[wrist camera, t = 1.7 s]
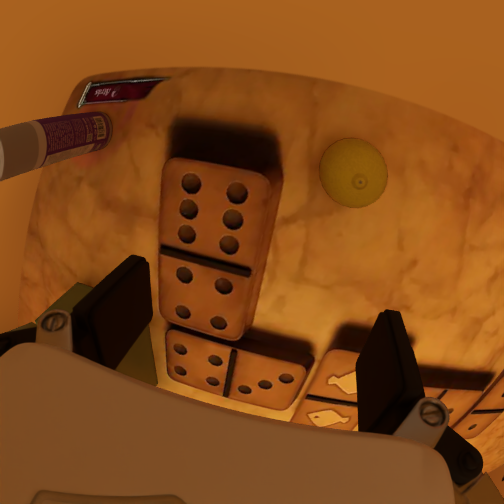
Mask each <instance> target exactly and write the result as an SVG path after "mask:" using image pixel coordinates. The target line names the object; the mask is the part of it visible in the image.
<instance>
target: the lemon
mask: <svg viewBox="0 0 504 504" xmlns="http://www.w3.org/2000/svg"><path fill="white" fill-rule="evenodd" d="M319 174H320V180H321V183H322V186H323V188H324V189H325V191H326V192H327V194H328V195H329V196H330V197H331V198H332V199H333V200H334V201H336V202H337V203H339V204H341V205H343V206H346V207H350V208H361V207H366V206H368V205H370V204H372V203H374V202H375V201H376V200H378V199H379V198H380V196H381V195H382V194H383V192H384V190H385V187H386V185H387V178H388V173H387V166H386V163H385V161H384V158H383V157H382V155H381V154H380V152H379V151H378V150H377V149H376V148H375V147H374V146H372V145H371V144H370V143H368V142H366V141H364V140H361V139H356V138H346V139H342V140H339V141H336V142H335V143H334V144H332V145H331V146H329V148H328V149H327V150H326V151H325V152H324V154H323V156H322V158H321V161H320V167H319Z"/></svg>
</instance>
